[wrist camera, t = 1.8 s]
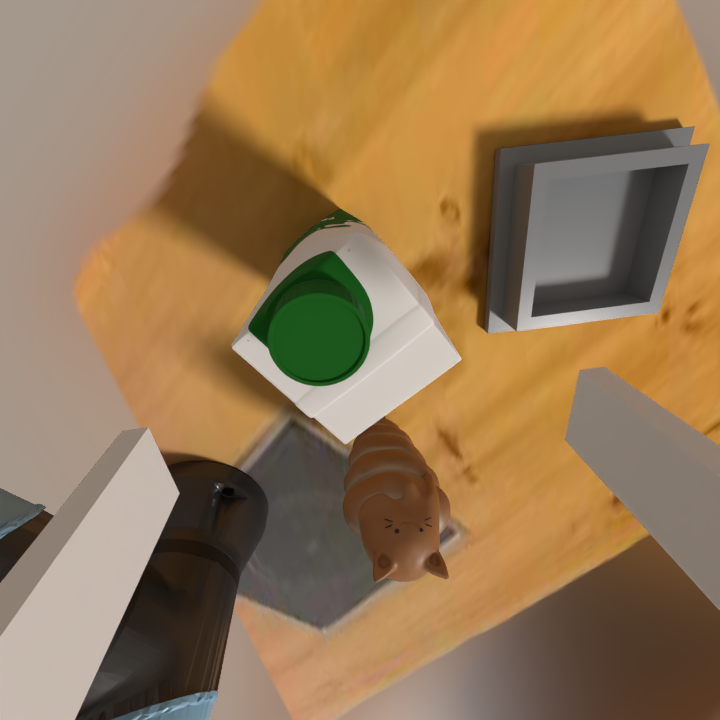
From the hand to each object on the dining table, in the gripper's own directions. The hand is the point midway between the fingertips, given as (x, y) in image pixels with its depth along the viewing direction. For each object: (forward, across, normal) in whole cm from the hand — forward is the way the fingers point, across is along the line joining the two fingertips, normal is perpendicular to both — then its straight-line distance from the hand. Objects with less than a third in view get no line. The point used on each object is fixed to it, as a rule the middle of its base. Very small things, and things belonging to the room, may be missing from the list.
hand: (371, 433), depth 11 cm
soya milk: (+24, 0, 0) cm, 24 cm away
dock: (+24, -22, 0) cm, 32 cm away
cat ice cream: (+24, -2, +18) cm, 30 cm away
